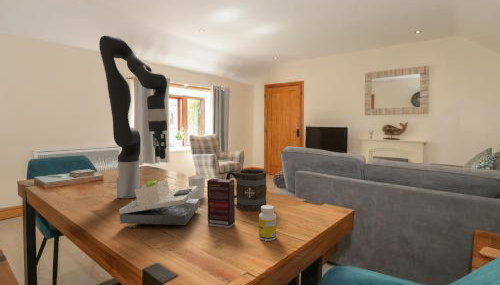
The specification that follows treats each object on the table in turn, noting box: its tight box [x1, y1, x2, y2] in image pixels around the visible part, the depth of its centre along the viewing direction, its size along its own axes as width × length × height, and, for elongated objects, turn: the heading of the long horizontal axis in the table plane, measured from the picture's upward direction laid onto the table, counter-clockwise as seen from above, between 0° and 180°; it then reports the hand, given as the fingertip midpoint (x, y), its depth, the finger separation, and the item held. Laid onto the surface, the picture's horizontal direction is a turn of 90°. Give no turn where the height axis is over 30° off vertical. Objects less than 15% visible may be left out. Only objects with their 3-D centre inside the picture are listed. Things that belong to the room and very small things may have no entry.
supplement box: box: [206, 177, 236, 229], centre depth 95 cm, size 9×5×16 cm, turn 71°
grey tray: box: [119, 198, 201, 229], centre depth 100 cm, size 22×20×5 cm
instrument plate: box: [118, 177, 198, 215], centre depth 100 cm, size 22×20×8 cm
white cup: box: [187, 174, 206, 200], centre depth 130 cm, size 8×8×10 cm
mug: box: [225, 168, 268, 212], centre depth 117 cm, size 20×14×15 cm
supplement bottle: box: [258, 204, 277, 242], centre depth 84 cm, size 5×5×10 cm
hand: (160, 157), depth 118 cm, fingers open, 8 cm apart
